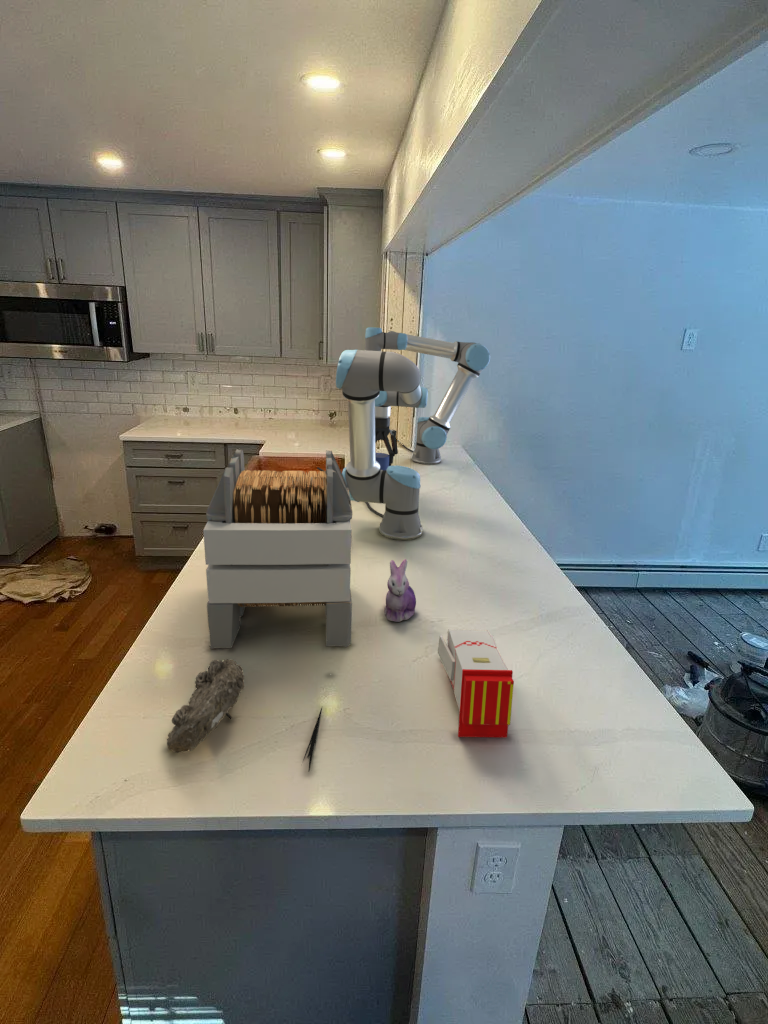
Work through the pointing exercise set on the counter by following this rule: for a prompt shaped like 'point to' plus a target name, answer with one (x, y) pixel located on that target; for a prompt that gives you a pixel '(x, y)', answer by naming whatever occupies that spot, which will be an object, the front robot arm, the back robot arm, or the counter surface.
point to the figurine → (399, 594)
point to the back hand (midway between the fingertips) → (370, 407)
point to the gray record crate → (278, 547)
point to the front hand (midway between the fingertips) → (378, 472)
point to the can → (382, 460)
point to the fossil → (206, 705)
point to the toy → (478, 682)
